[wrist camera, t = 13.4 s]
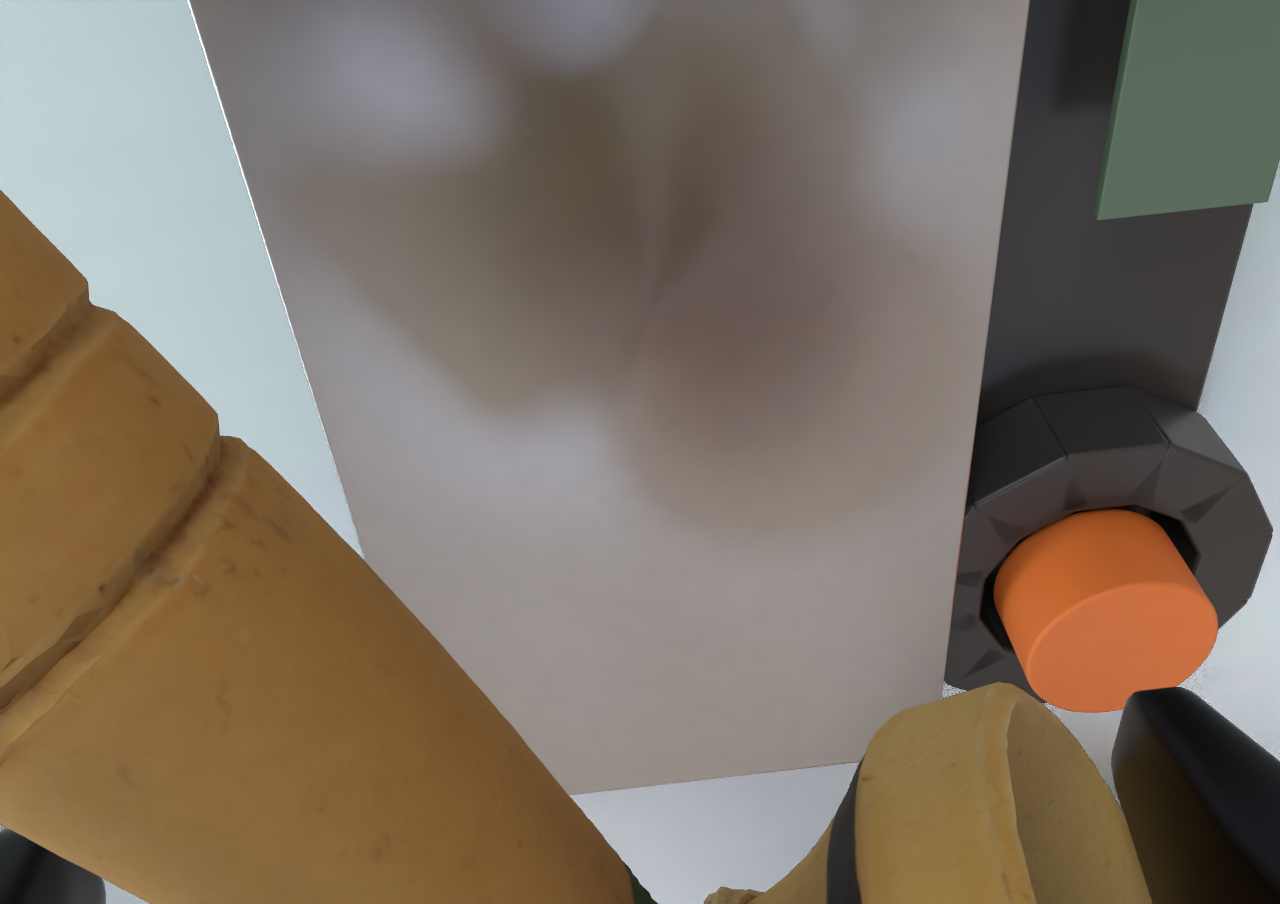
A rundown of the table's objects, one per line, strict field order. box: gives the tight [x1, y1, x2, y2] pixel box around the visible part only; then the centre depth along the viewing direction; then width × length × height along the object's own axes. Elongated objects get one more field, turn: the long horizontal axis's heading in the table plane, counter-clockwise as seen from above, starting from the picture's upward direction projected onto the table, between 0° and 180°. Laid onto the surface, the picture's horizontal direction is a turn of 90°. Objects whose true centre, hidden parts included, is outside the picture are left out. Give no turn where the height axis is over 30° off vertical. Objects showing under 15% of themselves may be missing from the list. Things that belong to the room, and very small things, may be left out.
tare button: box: [993, 509, 1218, 713], centre depth 19 cm, size 3×3×2 cm
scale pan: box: [187, 0, 1030, 795], centre depth 15 cm, size 20×9×1 cm, turn 5°
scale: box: [944, 0, 1273, 703], centre depth 16 cm, size 18×15×3 cm
